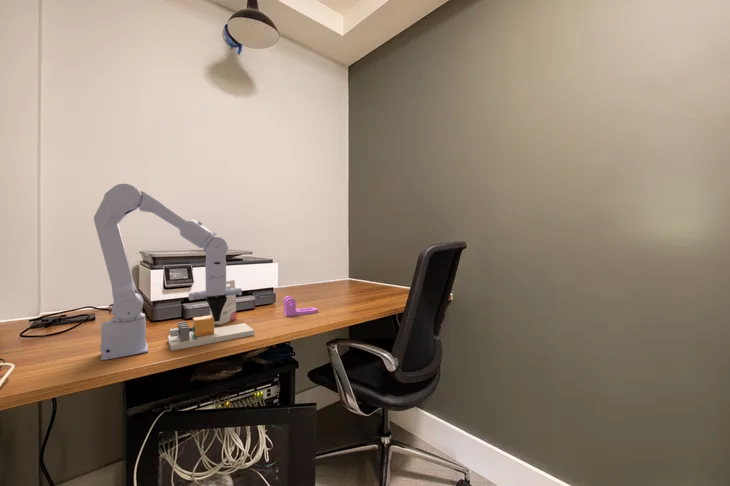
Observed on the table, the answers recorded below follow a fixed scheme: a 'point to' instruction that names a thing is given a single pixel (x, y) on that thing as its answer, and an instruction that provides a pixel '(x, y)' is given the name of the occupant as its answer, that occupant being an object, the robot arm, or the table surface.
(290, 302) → the bracket
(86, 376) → the table surface
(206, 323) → the orange block
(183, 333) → the board
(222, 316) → the ink cartridge box
